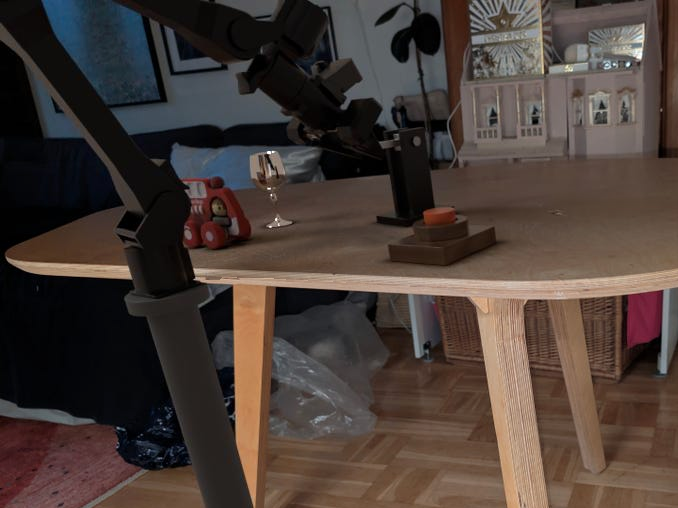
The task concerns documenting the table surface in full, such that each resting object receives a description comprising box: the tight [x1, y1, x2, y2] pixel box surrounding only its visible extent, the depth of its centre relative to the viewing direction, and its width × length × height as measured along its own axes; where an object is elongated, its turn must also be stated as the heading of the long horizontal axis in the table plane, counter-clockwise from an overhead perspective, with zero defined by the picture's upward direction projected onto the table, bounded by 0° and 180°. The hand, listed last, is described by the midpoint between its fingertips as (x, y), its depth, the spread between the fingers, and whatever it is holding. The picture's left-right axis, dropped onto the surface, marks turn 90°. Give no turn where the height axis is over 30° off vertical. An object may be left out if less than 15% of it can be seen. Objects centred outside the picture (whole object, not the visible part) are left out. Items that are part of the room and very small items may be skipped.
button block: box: [387, 214, 497, 266], centre depth 90 cm, size 11×9×4 cm
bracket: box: [375, 126, 456, 228], centre depth 111 cm, size 10×8×14 cm
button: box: [423, 207, 456, 225], centre depth 89 cm, size 4×4×2 cm
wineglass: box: [249, 150, 293, 228], centre depth 119 cm, size 6×6×12 cm
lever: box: [350, 134, 401, 153], centre depth 107 cm, size 10×5×2 cm, turn 133°
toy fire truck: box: [179, 175, 252, 250], centre depth 110 cm, size 7×12×10 cm, turn 60°
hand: (373, 156), depth 106 cm, fingers closed on lever, 5 cm apart
